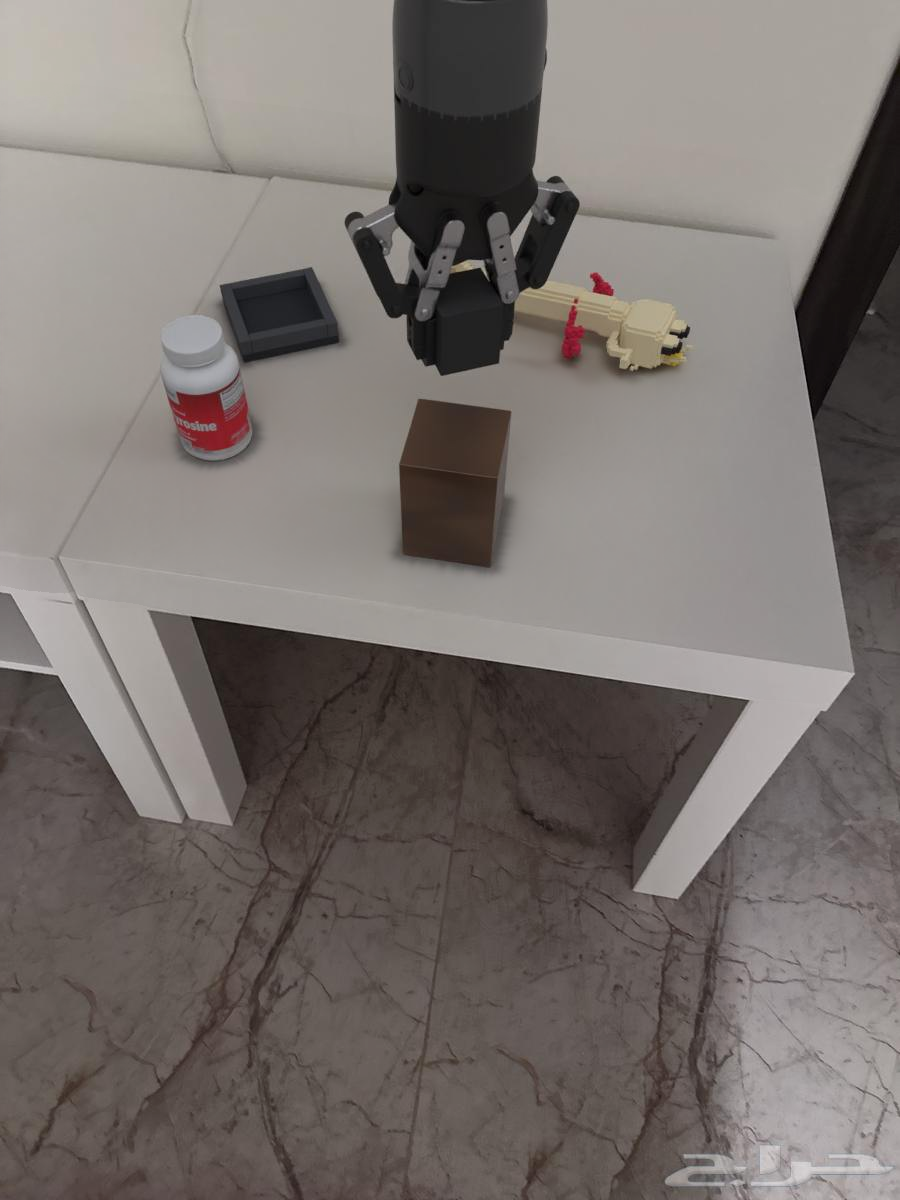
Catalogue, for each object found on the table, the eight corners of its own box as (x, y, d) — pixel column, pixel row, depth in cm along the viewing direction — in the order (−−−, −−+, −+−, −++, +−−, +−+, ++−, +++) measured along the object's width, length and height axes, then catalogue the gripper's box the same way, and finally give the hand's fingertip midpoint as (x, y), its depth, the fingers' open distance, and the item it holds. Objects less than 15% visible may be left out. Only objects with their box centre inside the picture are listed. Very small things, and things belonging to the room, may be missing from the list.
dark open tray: (243, 362, 86) (239, 342, 84) (223, 304, 91) (219, 284, 89) (339, 342, 88) (337, 322, 86) (314, 287, 93) (312, 266, 91)
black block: (440, 376, 59) (441, 316, 55) (420, 338, 61) (420, 278, 57) (499, 363, 59) (504, 303, 56) (477, 326, 62) (480, 266, 58)
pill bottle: (166, 445, 79) (132, 340, 70) (212, 404, 83) (186, 299, 74) (223, 473, 78) (196, 369, 69) (268, 430, 81) (247, 325, 72)
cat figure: (421, 337, 90) (671, 396, 83) (413, 255, 84) (685, 311, 76) (464, 282, 96) (702, 332, 88) (459, 201, 89) (717, 249, 81)
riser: (402, 554, 73) (398, 464, 65) (420, 490, 77) (418, 397, 69) (490, 567, 72) (497, 478, 64) (503, 502, 76) (511, 410, 68)
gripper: (567, 24, 50) (537, 297, 64) (311, 59, 47) (337, 338, 61) (629, 86, 46) (582, 364, 60) (352, 130, 43) (370, 412, 56)
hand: (459, 349), depth 60 cm, fingers closed on black block, 4 cm apart
